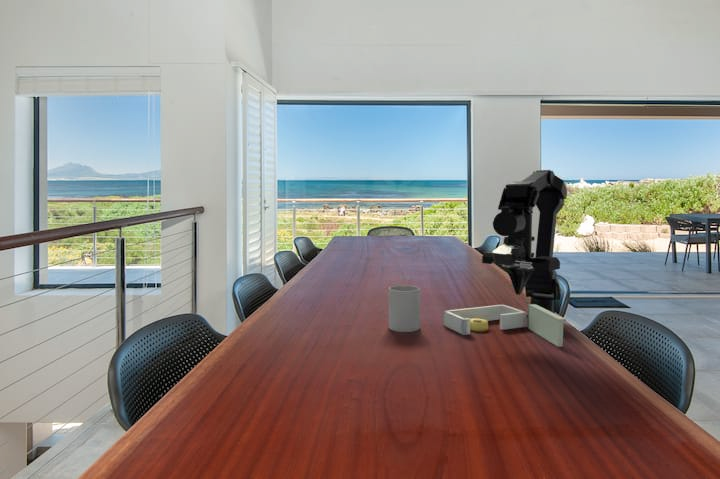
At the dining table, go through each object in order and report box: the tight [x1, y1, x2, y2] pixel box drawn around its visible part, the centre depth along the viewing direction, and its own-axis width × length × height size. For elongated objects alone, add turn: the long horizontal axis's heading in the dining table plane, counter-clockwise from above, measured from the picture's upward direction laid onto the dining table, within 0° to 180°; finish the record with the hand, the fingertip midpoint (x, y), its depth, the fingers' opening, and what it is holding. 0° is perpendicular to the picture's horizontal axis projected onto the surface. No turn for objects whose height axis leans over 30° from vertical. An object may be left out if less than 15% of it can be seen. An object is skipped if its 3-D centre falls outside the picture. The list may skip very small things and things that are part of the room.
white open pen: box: [442, 303, 532, 336], centre depth 126 cm, size 20×12×6 cm, turn 110°
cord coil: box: [470, 318, 489, 332], centre depth 125 cm, size 6×6×2 cm
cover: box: [528, 304, 567, 348], centre depth 116 cm, size 15×2×7 cm, turn 6°
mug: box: [388, 284, 421, 333], centre depth 127 cm, size 12×8×11 cm
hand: (518, 294), depth 117 cm, fingers closed
